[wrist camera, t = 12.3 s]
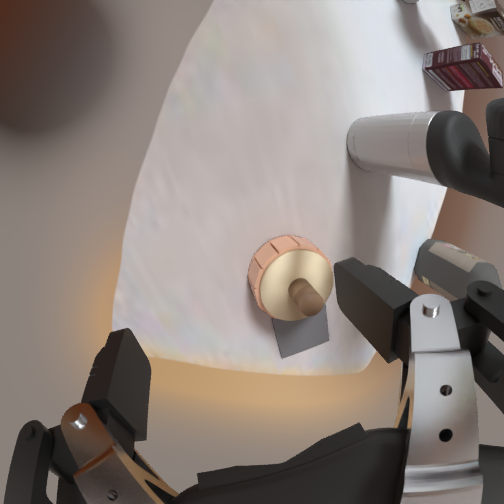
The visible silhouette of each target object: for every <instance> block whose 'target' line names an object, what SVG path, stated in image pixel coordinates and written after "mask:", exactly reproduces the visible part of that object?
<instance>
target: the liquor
mask: <svg viewBox="0 0 504 504" xmlns="http://www.w3.org/2000/svg"><path fill="white" fill-rule="evenodd" d="M414 269H415V272H416V274H417V277H418V279H419V280H420V281H422V282H423V283H425V284H426V285H428V286H429V287H431V288H432V289H434V290H435V291H437V292H438V293H440V294H441V295H443V296H444V297H445V298H447V299H449V300H450V301H454V300H457V299H461V298H464V297H465V295H466V290H467V286H468V285H469V284H470V283H471V282H474V281H478V280H484V281H488V282H491V283H493V284H495V285H496V286H498V287H499V288H501V289H502V287H501V283H500V279H499V275H498V272H497V269H496V268H495V267H494V265H492V264H490V263H488V262H486V261H484V260H482V259H480V258H478V257H476V256H474V255H472V254H470V253H468V252H466V251H464V250H462V249H460V248H458V247H456V246H454V245H452V244H449V243H447V242H445V241H443V240H433V239H428V240H426V241H425V242H424V243H423V245H422V246H421V247H420V249H419V253H418V257H417V261H416V264H415V268H414Z"/></svg>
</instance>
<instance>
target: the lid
mask: <svg viewBox="0 0 504 504" xmlns="http://www.w3.org/2000/svg"><path fill="white" fill-rule="evenodd" d="M332 287H333V273H332V269H331V267H330V265H329V263H328V262H327V261H326V260H325V259H324V258H323V257H322V256H321V255H319V254H318V253H316V252H314V251H312V250H308V249H293V250H289V251H287V252H284V253H282V254H281V255H279V256H277V257H276V258H275V259H274V260H272V261H271V262H270V264H269V265H268V266H267V267H266V269H265V270H264V272H263V274H262V277H261V280H260V284H259V294H260V298H261V301H262V303H263V305H264V307H265V308H266V310H267V311H268V312H269V313H270V314H271V315H272V316H274V317H276V318H278V319H281V320H285V321H296V320H300V319H304V318H306V317H308V316H309V317H310V316H314V315H316V314H318V313H319V312H320V311H321V310H322V308H323V306H324V303H325V302H326V301H327V299H328V297H329V295H330V293H331V290H332Z"/></svg>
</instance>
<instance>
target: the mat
mask: <svg viewBox="0 0 504 504" xmlns="http://www.w3.org/2000/svg"><path fill="white" fill-rule="evenodd" d="M272 322H273V326H274V330H275V333H276V337H277V341H278V345H279V349H280V353H281V357H282V358H285V357H287V356H290V355H293V354H296V353H298V352H301V351H304V350H306V349H309V348H311V347H314V346H317V345H319V344H322V343H324V342H326V341H329V334H328V324H327V315H326V306H325V303H324V306H323V308H322V310H321V311H320V312H319V313H318V314H316V315H314V316H310V317H309V316H308V317H306V318H304V319H300V320H296V321H285V320H281V319H275V318H274V317H273V318H272Z"/></svg>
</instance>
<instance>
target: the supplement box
mask: <svg viewBox="0 0 504 504" xmlns="http://www.w3.org/2000/svg"><path fill="white" fill-rule="evenodd" d="M422 70H424V71H425V72H426V73H427V74H428V75H429V76H430V77H431V78H433V79H434V80H435V81H436V82H437V83H438V84H439V85H440V86H441V87H442V88H443V89H444V90H445V91H456V90H468V89H485V88H503V74H502V70H501V69H500V67H499V66H498V64H497V63H496V62H495V60H494V59H493V57H492V56H491V55H490V53H489V52H488V51H487V49H486V48H485V47H484V46H483V44H482V43H481V42H480V43H473V44H467V45H462V46H457V47H453V48H448V49H444V50H439V51H435V52H431V53H427V54H424V60H423V67H422Z"/></svg>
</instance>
